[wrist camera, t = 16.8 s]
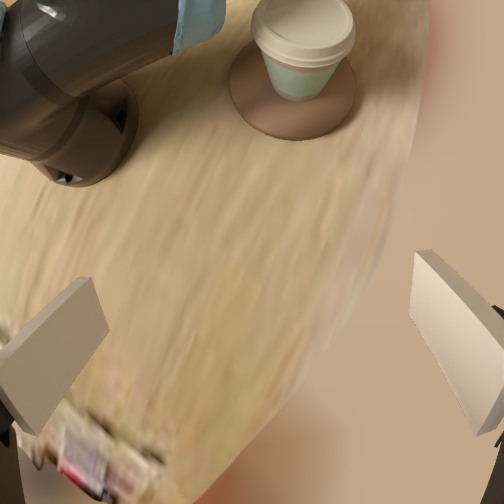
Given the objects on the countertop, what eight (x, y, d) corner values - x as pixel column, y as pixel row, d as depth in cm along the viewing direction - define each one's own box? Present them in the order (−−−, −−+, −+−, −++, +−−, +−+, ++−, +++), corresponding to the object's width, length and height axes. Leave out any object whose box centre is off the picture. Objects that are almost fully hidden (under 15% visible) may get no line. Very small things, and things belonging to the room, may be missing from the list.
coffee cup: (334, 52, 30) (354, -14, 18) (337, 116, 30) (365, 61, 18) (259, 47, 30) (252, -22, 19) (256, 111, 31) (245, 52, 19)
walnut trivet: (206, 85, 33) (203, 79, 31) (291, 21, 31) (291, 14, 30) (292, 166, 33) (293, 163, 31) (376, 92, 31) (380, 86, 30)
